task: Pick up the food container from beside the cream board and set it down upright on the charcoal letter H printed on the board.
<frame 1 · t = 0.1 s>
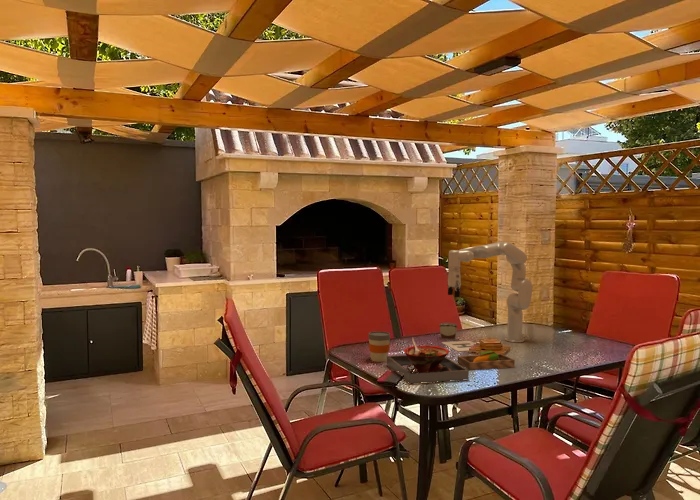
hand: (453, 295, 346), 31 cm above the table, tool pointing down, fingers open, 9 cm apart
letter board: (463, 346, 341), on the table
reusable coffee cup: (379, 359, 306), on the table
corn: (485, 366, 296), resting in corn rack
dark grey tray: (425, 372, 281), on the table
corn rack: (485, 365, 296), on the table
food container: (447, 338, 364), on the table
stew: (425, 372, 281), resting in dark grey tray
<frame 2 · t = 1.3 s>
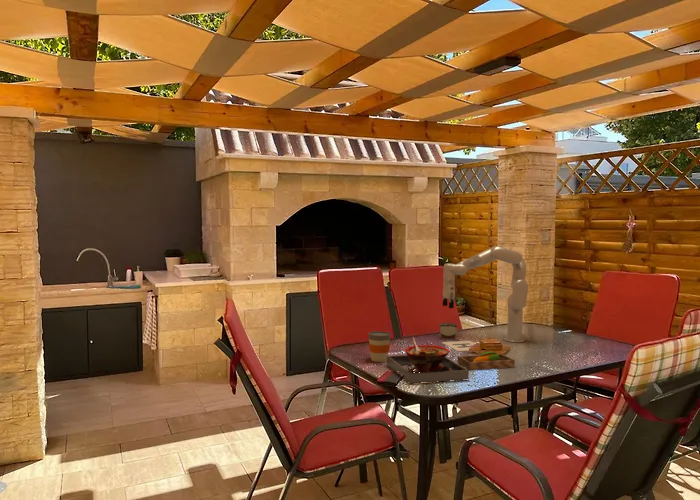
hand: (448, 307, 363), 21 cm above the table, tool pointing down, fingers open, 9 cm apart
stew: (426, 372, 282), resting in dark grey tray
everything else where it was.
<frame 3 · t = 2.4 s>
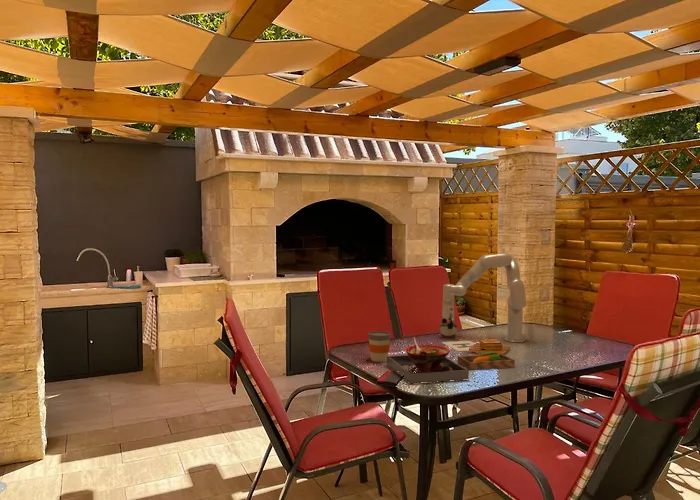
hand: (447, 327, 364), 7 cm above the table, tool pointing down, fingers open, 9 cm apart
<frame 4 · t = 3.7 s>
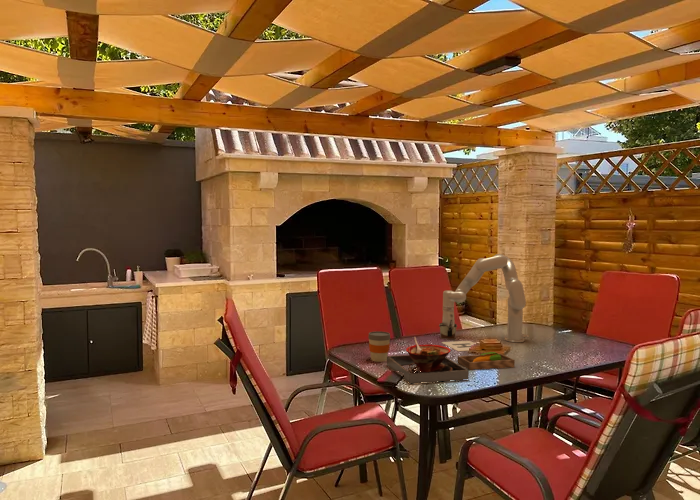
hand: (447, 335, 364), 2 cm above the table, tool pointing down, fingers closed on food container, 5 cm apart
food container: (447, 338, 365), on the table, touching gripper
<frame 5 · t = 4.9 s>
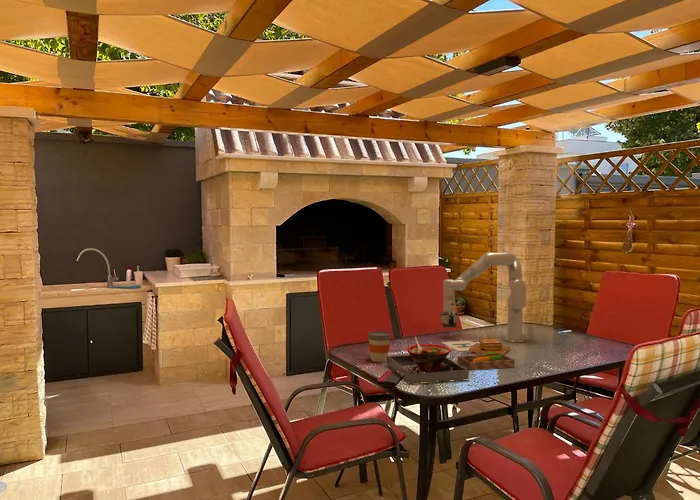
hand: (449, 323, 363), 10 cm above the table, tool pointing down, fingers closed on food container, 5 cm apart
corn: (487, 366, 294), resting in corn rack
food container: (448, 327, 364), point 7 cm above the table, touching gripper
stew: (428, 371, 285), resting in dark grey tray
everything else where it was.
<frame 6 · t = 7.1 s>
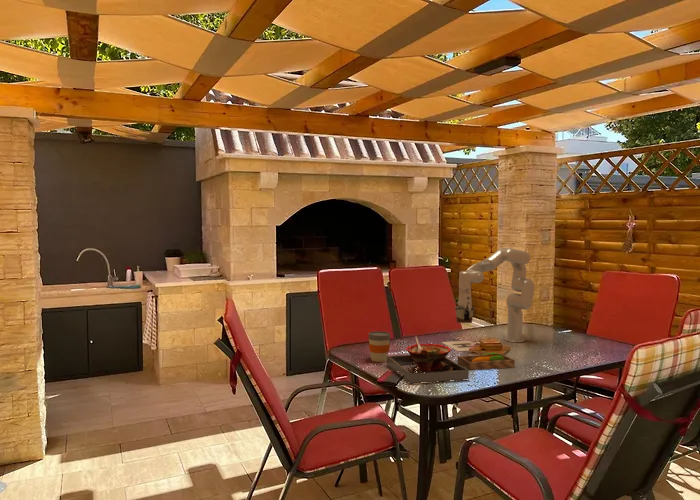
hand: (464, 318, 341), 17 cm above the table, tool pointing down, fingers closed on food container, 5 cm apart
food container: (463, 322, 342), point 15 cm above the table, touching gripper
when the fingers open (4 cm above the table, at t = 10.5 s): food container drops 2 cm, resting on letter board.
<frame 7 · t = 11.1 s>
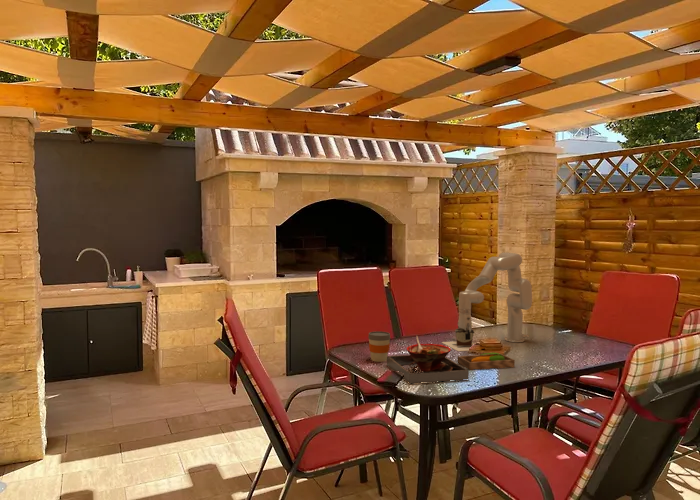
hand: (464, 338, 341), 5 cm above the table, tool pointing down, fingers open, 9 cm apart
food container: (463, 345, 342), resting on letter board, touching gripper
stew: (428, 370, 285), resting in dark grey tray
everything else where it was.
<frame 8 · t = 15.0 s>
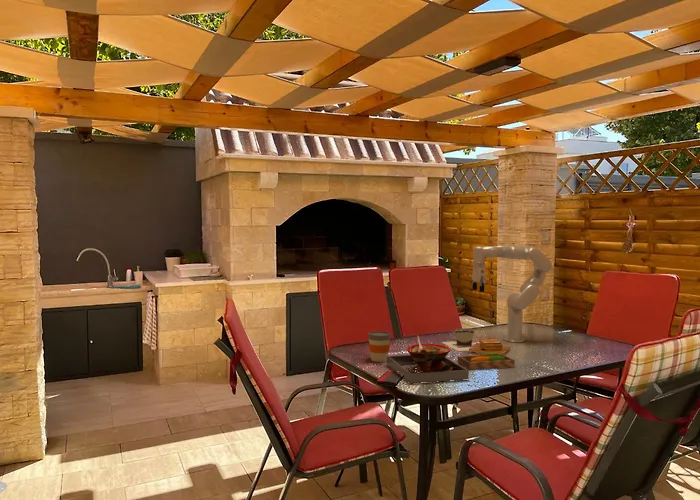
hand: (478, 290, 356), 33 cm above the table, tool pointing down, fingers open, 9 cm apart
corn: (487, 366, 294), resting in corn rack
food container: (463, 345, 342), resting on letter board
at the end: food container 1.5 cm off-centre on the letter board, point 0.4 cm above the letter board's base; food container tilted 0°; the gripper is holding nothing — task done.
